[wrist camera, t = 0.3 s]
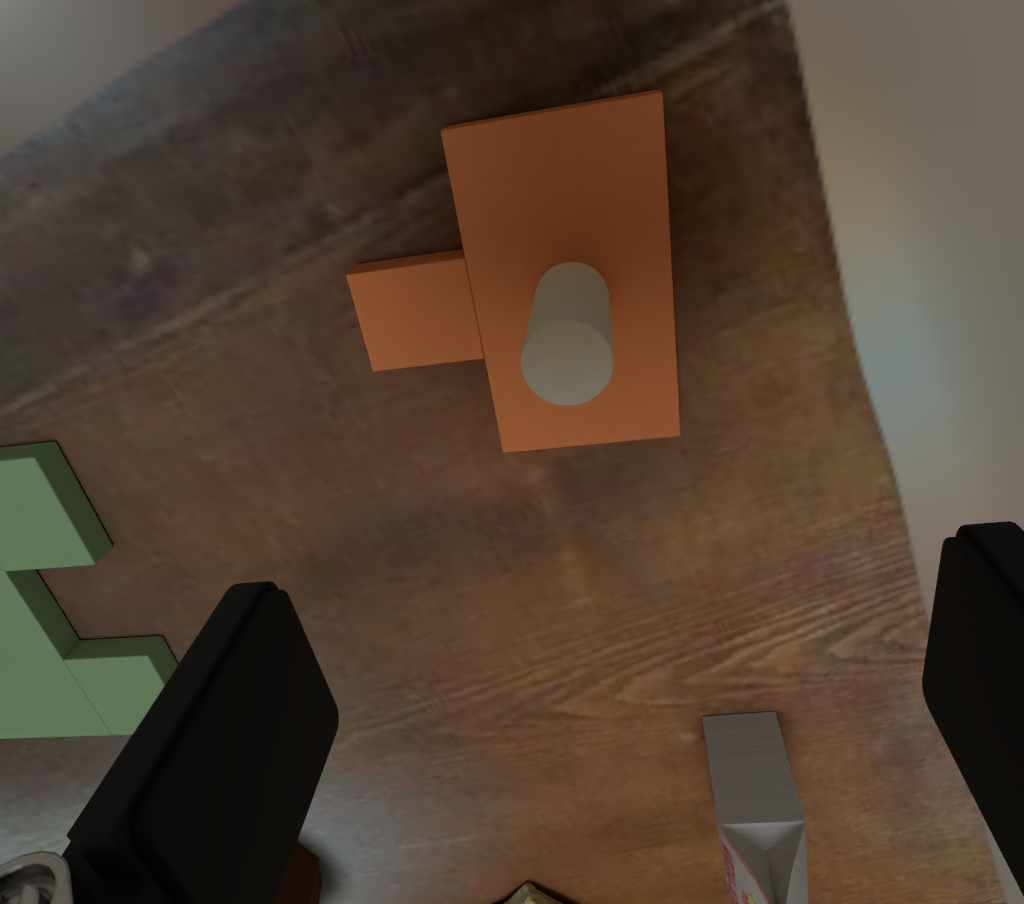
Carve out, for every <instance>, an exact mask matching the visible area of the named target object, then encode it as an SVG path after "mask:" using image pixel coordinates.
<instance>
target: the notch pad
mask: <svg viewBox="0 0 1024 904" xmlns="http://www.w3.org/2000/svg"><path fill="white" fill-rule="evenodd" d="M111 547H112V543H111V541H110V540H109V538H108V536H107V534H106V532H105V531H104V529H103V527H102V525H101V523H100V521H99V520H98V518H97V516H96V514H95V512H94V510H93V509H92V507H91V505H90V503H89V501H88V499H87V498H86V496H85V494H84V492H83V490H82V488H81V487H80V485H79V483H78V481H77V479H76V478H75V476H74V474H73V472H72V470H71V468H70V467H69V465H68V463H67V461H66V459H65V457H64V456H63V454H62V452H61V450H60V448H59V446H58V445H57V443H56V442H46V443H37V444H27V445H18V446H9V447H0V739H4V738H37V737H69V736H102V735H131V734H133V733H134V732H135V730H136V729H137V727H138V726H139V724H140V723H141V721H142V720H143V718H144V717H145V715H146V713H147V712H148V710H149V709H150V707H151V706H152V704H153V703H154V701H155V700H156V698H157V697H158V695H159V694H160V692H161V691H162V689H163V688H164V686H165V685H166V683H167V681H168V680H169V678H170V677H171V675H172V674H173V672H174V671H175V669H176V668H177V666H178V664H177V662H176V660H175V658H174V657H173V655H172V653H171V651H170V649H169V648H168V646H167V644H166V642H165V640H164V638H163V637H162V636H147V637H129V638H111V639H93V640H81V641H80V640H79V638H78V636H77V635H76V633H75V632H74V630H73V628H72V627H71V625H70V624H69V622H68V620H67V619H66V617H65V616H64V614H63V612H62V611H61V609H60V608H59V606H58V604H57V603H56V601H55V600H54V598H53V597H52V595H51V593H50V592H49V590H48V589H47V587H46V585H45V584H44V582H43V581H42V579H41V577H40V576H39V574H38V573H37V571H36V569H44V568H57V567H71V566H84V565H95V564H96V563H97V562H98V561H99V560H100V559H101V558H102V557H103V556H104V555H105V554H106V553H107V552H108V551H109V549H110V548H111Z"/></svg>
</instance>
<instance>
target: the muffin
mask: <svg viewBox="0 0 1024 904" xmlns="http://www.w3.org/2000/svg"><path fill="white" fill-rule="evenodd" d="M322 882H323V880H322V877H321V874H320V871H319V858H318V857H317V856H315V855H314V854H312V853H311V852H309V851H308V850H306V849H305V848H304V847H302V846H301V845H300V844H299V843H298V842H296V845H295V848H294V851H293V853H292V856H291V859H290V862H289V864H288V867H287V870H286V873H285V875H284V878H283V881H282V884H281V886H280V889H279V892H278V895H277V897H276V900H275V903H274V904H319V900H320V894H321V888H322Z"/></svg>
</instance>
